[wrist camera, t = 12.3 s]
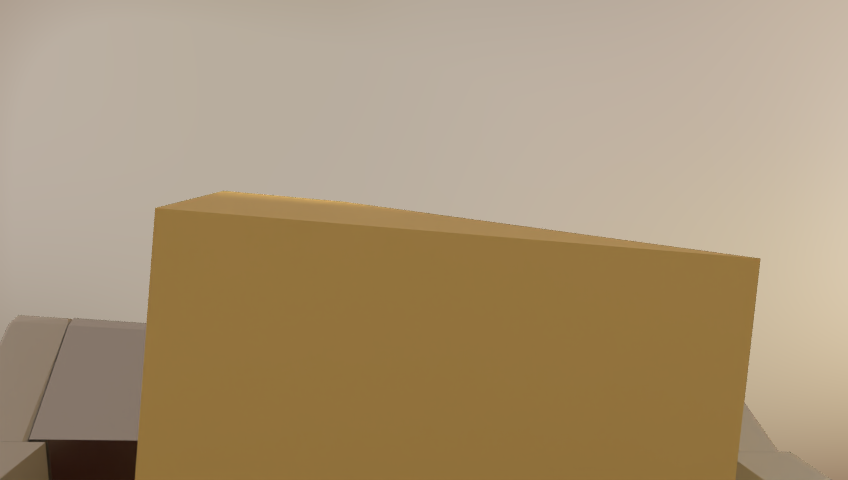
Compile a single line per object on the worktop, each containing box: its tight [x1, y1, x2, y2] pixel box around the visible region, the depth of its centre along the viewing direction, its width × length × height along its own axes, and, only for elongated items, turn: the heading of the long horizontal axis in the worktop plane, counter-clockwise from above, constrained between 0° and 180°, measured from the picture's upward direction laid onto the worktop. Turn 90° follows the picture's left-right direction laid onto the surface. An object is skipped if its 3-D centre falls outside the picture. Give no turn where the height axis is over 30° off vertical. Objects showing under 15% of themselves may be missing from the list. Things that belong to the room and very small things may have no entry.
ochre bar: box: [135, 191, 760, 480], centre depth 17 cm, size 4×24×4 cm, turn 14°
